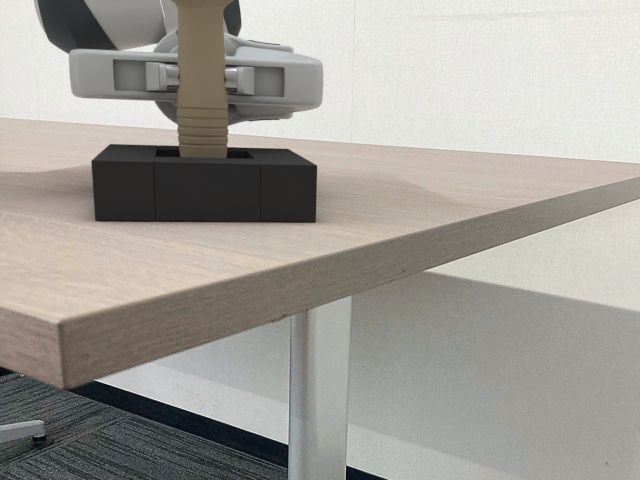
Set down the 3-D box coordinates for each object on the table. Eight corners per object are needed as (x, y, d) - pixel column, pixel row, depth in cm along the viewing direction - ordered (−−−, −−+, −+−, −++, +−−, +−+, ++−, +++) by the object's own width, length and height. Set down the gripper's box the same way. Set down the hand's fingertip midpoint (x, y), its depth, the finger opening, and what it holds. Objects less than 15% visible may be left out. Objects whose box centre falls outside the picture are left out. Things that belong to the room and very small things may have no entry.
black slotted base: (95, 220, 52) (91, 160, 51) (112, 191, 66) (109, 143, 65) (315, 222, 55) (317, 165, 54) (287, 194, 69) (288, 148, 68)
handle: (246, 183, 63) (245, -18, 58) (220, 193, 57) (216, -31, 52) (189, 180, 64) (184, -19, 59) (158, 189, 58) (149, -32, 53)
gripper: (74, 35, 67) (50, 24, 54) (308, 47, 71) (337, 40, 58) (80, 111, 69) (58, 118, 56) (306, 119, 73) (334, 127, 60)
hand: (202, 78), depth 57 cm, fingers closed on handle, 3 cm apart
